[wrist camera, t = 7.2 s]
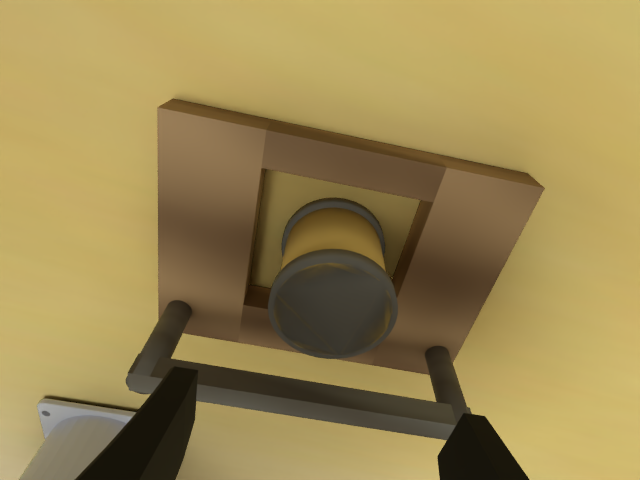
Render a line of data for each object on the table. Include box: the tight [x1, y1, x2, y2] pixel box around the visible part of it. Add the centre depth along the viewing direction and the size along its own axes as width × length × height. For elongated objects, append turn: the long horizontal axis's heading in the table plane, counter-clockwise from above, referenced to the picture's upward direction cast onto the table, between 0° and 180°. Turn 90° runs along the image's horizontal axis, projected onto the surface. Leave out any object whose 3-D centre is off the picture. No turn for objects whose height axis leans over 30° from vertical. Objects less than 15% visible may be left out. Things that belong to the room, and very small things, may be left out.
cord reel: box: [268, 198, 398, 359], centre depth 17 cm, size 5×5×5 cm
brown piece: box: [126, 99, 545, 440], centre depth 17 cm, size 11×15×6 cm
